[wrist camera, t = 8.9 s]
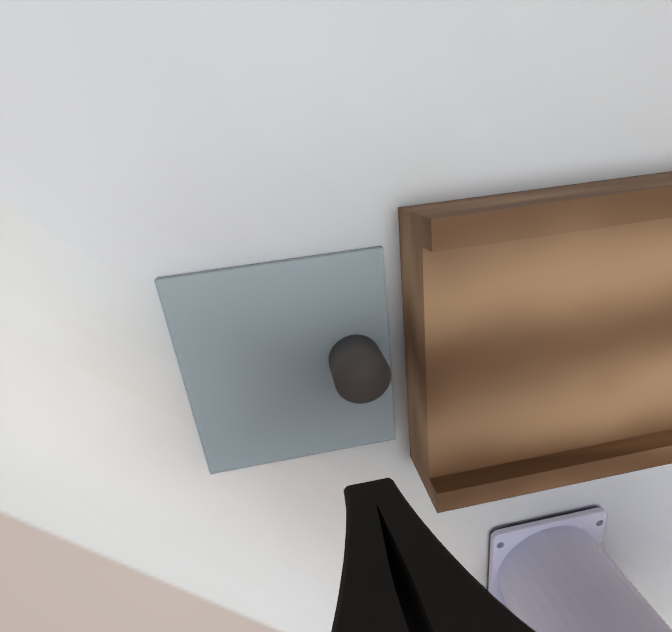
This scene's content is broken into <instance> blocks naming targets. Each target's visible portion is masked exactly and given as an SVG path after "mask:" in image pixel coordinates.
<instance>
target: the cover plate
mask: <svg viewBox="0 0 672 632" xmlns="http://www.w3.org/2000/svg"><path fill="white" fill-rule="evenodd" d="M154 281H155V284H156V288H157V291H158V295H159V298H160V301H161V305H162V308H163V312H164V315H165V319H166V322H167V326H168V329H169V333H170V336H171V340H172V343H173V347H174V350H175V354H176V357H177V360H178V364H179V367H180V371H181V374H182V378H183V381H184V385H185V388H186V392H187V395H188V399H189V402H190V406H191V409H192V413H193V416H194V419H195V423H196V426H197V430H198V433H199V437H200V440H201V444H202V447H203V451H204V454H205V458H206V461H207V465H208V468H209V472H210V474H215V473H220V472H225V471H230V470H236V469H241V468H246V467H251V466H257V465H262V464H267V463H272V462H277V461H283V460H288V459H293V458H298V457H304V456H309V455H314V454H319V453H325V452H330V451H335V450H340V449H346V448H351V447H356V446H361V445H367V444H372V443H377V442H382V441H388V440H393V439H396V436H395V421H394V406H393V391H392V376H391V361H390V346H389V331H388V316H387V301H386V286H385V270H384V255H383V247H381V246H376V247H369V248H362V249H355V250H348V251H341V252H334V253H327V254H320V255H313V256H306V257H299V258H292V259H285V260H278V261H271V262H264V263H257V264H250V265H243V266H236V267H229V268H222V269H215V270H207V271H200V272H193V273H186V274H179V275H172V276H165V277H158V278H156V279H155V280H154Z"/></svg>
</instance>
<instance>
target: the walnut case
mask: <svg viewBox="0 0 672 632" xmlns="http://www.w3.org/2000/svg"><path fill="white" fill-rule="evenodd" d="M398 213H399V233H400V253H401V273H402V293H403V314H404V334H405V354H406V374H407V394H408V414H409V434H410V454H411V459H412V461H413V463H414V465H415V467H416V469H417V471H418V474H419V476H420V478H421V480H422V482H423V484H424V486H425V488H426V490H427V492H428V495H429V497H430V499H431V501H432V503H433V505H434V507H435V509H436V511H437V513H440V512H445V511H449V510H454V509H459V508H463V507H468V506H473V505H478V504H482V503H487V502H492V501H496V500H501V499H506V498H511V497H515V496H520V495H525V494H529V493H534V492H539V491H544V490H548V489H553V488H558V487H562V486H567V485H572V484H576V483H581V482H586V481H591V480H595V479H600V478H605V477H609V476H614V475H619V474H624V473H628V472H633V471H638V470H642V469H647V468H652V467H657V466H661V465H666V464H671V463H672V172H664V173H657V174H649V175H641V176H634V177H626V178H619V179H611V180H603V181H596V182H588V183H581V184H573V185H566V186H558V187H550V188H543V189H535V190H528V191H520V192H512V193H505V194H497V195H490V196H482V197H475V198H467V199H459V200H452V201H444V202H437V203H429V204H421V205H414V206H406V207H399V208H398Z"/></svg>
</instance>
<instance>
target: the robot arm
mask: <svg viewBox="0 0 672 632" xmlns="http://www.w3.org/2000/svg"><path fill="white" fill-rule="evenodd" d="M344 496H345V503H346V538H345V551H344V561H343V568H342V575H341V582H340V589H339V595H338V601H337V607H336V612H335V617H334V622H333V626H332V631H331V632H672V629H671V628H670V627H669V626H668V625H667V624H666V623H665V621H664V620H663V619H662V618H661V617H660V616H659V614H658V613H657V612H656V611H655V610H654V609H653V607H652V606H651V605H650V604H649V603H648V602H647V600H646V599H645V598H644V597H643V596H642V595H641V593H640V592H639V591H638V590H637V589H636V588H635V586H634V585H633V584H632V583H631V582H630V581H629V579H628V578H627V577H626V576H625V575H624V574H623V572H622V571H621V570H620V569H619V568H618V567H617V565H616V564H615V563H614V562H613V561H612V560H611V559H610V557H609V556H608V555H607V554H606V553H605V552H604V550H603V549H602V548H601V545H602V539H603V534H604V529H605V524H606V518H607V513H606V512H605V511H604V510H603V508H600V507H599V508H593V509H588V510H584V511H579V512H575V513H570V514H566V515H561V516H557V517H552V518H548V519H543V520H538V521H534V522H529V523H525V524H520V525H516V526H511V527H507V528H502V529H498V530H495V531H494V532H493V533H492V534H491V541H490V562H489V583H488V590H487V589H486V588H484V587H483V586H482V585H481V584H480V583H479V582H478V581H477V580H476V579H475V578H474V577H473V576H472V575H471V574H470V573H469V572H468V571H467V570H466V569H465V568H464V567H463V566H462V565H461V564H460V563H459V562H458V561H457V560H456V559H455V558H454V556H453V555H452V554H451V553H450V552H449V551H448V550H447V549H446V548H445V547H444V546H443V545H442V543H441V542H440V541H439V540H438V539H437V538H436V537H435V535H434V534H433V533H432V532H431V531H430V529H429V528H428V527H427V526H426V525H425V524H424V522H423V521H422V520H421V519H420V517H419V516H418V515H417V514H416V512H415V511H414V510H413V508H412V507H411V506H410V505H409V503H408V502H407V501H406V499H405V498H404V496H403V495H402V494H401V492H400V491H399V489H398V488H397V486H396V485H395V483H394V481H393V480H392V479H390V478H385V479H380V480H375V481H370V482H365V483H360V484H355V485H350V486H347V487H346V488H345V489H344Z"/></svg>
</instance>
